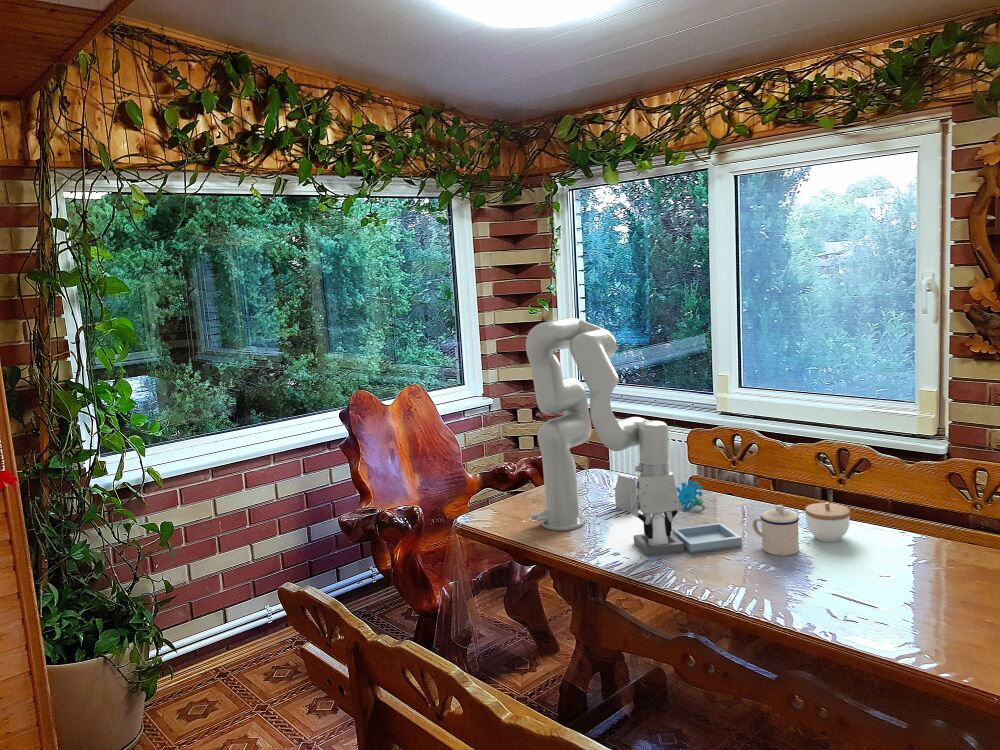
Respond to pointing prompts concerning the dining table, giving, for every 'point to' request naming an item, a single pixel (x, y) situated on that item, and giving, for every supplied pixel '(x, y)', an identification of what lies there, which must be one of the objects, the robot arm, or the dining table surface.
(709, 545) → the parts tray
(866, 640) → the dining table surface
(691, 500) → the blue spiky cluster
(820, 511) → the lidded jar
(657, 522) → the pepper shaker
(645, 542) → the socket block
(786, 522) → the teacup with lid
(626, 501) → the grey upright wedge block
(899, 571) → the dining table surface
